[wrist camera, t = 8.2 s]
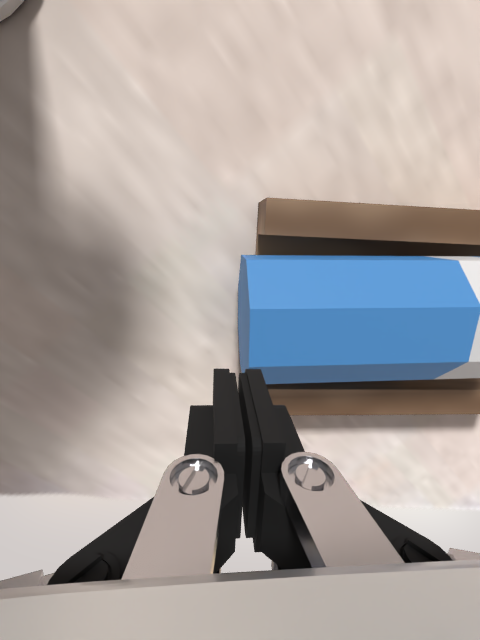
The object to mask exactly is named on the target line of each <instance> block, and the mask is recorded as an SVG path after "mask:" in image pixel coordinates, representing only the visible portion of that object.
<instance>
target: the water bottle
mask: <svg viewBox="0 0 480 640" xmlns="http://www.w3.org/2000/svg"><path fill="white" fill-rule="evenodd" d="M238 334H239V353H240V366H241V371H242V373H245V369H261V371H262V374H263V377H264V380H265V383H266V384H290V383H325V382H360V381H395V380H430V379H465V378H480V256H314V255H241V264H240V273H239V283H238Z"/></svg>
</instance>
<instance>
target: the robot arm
mask: <svg viewBox="0 0 480 640" xmlns="http://www.w3.org/2000/svg"><path fill="white" fill-rule="evenodd" d="M23 2H24V0H0V21H2V20H4V19H5V18H7V17H8V16H10V15H11V14H12V13H13V12H14V11H15V10H16V9H17V8H18V7H19V6H20V5H21V4H22V3H23ZM242 508H243V516H244V526H245V535H246V538H253V543H254V550H255V552H262V553H264V554H265V555H266V556H267V557H269V558H270V559H271V560H272V565H271V566H272V570H271V571H253V572H237V573H220V571H221V567H222V566H223V565H224V563H225V562H226V561H227V560H228V559H229V558H230V556H231V555H232V554H233V553H234V552H235V539H236V538H240V533H241V517H242ZM0 640H480V553H475V552H470V551H464V550H458V549H453V548H450V549H449V552H448V553H446V552H445V551H443V550H442V549H441V548H440V547H439V546H438V545H436V544H435V543H433V542H432V541H430V540H429V539H427V538H425V537H424V536H422V535H420V534H418V533H417V532H415V531H413V530H411V529H410V528H408V527H406V526H404V525H403V524H401V523H399V522H398V521H396V520H394V519H392V518H390V517H389V516H387V515H385V514H384V513H382V512H380V511H378V510H376V509H375V508H373V507H371V506H370V505H368V504H366V503H364V502H363V501H361V500H359V498H358V497H357V495H356V494H355V493H354V491H353V490H352V488H351V487H350V486H349V484H348V483H347V481H346V480H345V479H344V477H343V476H342V474H341V473H340V472H339V470H338V469H337V468H336V467H335V465H334V464H333V463H332V462H330V461H329V460H327V459H326V458H324V457H322V456H320V455H318V454H315V453H310V452H305V451H304V449H303V446H302V444H301V442H300V439H299V437H298V434H297V432H296V429H295V427H294V425H293V422H292V420H291V417H290V415H289V412H288V410H287V408H286V406H285V405H273V403H272V400H271V397H270V394H269V391H268V388H267V386H266V383H265V380H264V377H263V374H262V371H261V369H245V373H239V387H238V389H237V382H236V376H235V373H230V372H229V369H214V382H213V405H202V406H190V414H189V422H188V429H187V437H186V445H185V453H184V456H182V457H180V458H178V459H176V460H174V461H173V462H172V463H171V464H170V465H169V466H168V467H167V469H166V470H165V472H164V474H163V476H162V479H161V481H160V484H159V486H158V489H157V491H156V494H155V496H154V497H153V498H152V499H150V500H149V501H148V502H146V503H145V504H143V505H142V506H141V507H139V508H138V509H136V510H135V511H134V512H132V513H131V514H130V515H128V516H127V517H125V518H124V519H123V520H121V521H120V522H118V523H117V524H116V525H114V526H113V527H112V528H110V529H109V530H107V531H106V532H105V533H103V534H102V535H101V536H99V537H98V538H96V539H95V540H94V541H92V542H91V543H89V544H88V545H87V546H85V547H84V548H83V549H81V550H80V551H79V552H77V553H76V554H74V555H73V556H71V557H70V558H69V559H68V560H67V561H66V562H64V563H63V564H62V565H61V566H60V567H59V568H58V569H57V571H56V572H55V573H52V574H48V575H45V576H43V570H39V571H36V572H32V573H28V574H24V575H21V576H17V577H13V578H10V579H6V580H2V581H0Z"/></svg>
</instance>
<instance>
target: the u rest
mask: <svg viewBox="0 0 480 640" xmlns="http://www.w3.org/2000/svg"><path fill="white" fill-rule="evenodd" d="M256 255H314V256H480V210H468V209H451V208H433V207H416V206H399V205H382V204H365V203H348V202H331V201H314V200H297V199H279V198H266V199H264V200H262V201H261V202H259V205H258V222H257V239H256ZM266 386H267V388H268V391H269V394H270V397H271V400H272V403H273V405H285V406H286V408H287V410H288V412H289V415H409V414H480V378H465V379H430V380H395V381H360V382H325V383H290V384H266Z"/></svg>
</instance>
